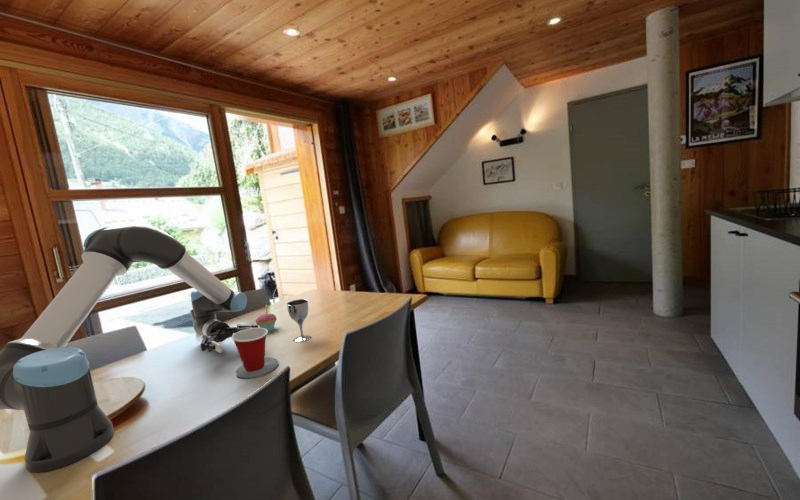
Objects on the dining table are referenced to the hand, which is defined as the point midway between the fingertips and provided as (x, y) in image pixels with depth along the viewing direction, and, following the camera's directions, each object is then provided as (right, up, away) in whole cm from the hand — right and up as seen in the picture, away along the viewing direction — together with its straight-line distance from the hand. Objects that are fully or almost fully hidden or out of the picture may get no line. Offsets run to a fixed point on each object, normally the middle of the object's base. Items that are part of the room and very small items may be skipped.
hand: (240, 341), depth 120 cm
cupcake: (-3, -3, +31) cm, 32 cm away
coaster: (+8, -7, -6) cm, 13 cm away
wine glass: (+17, -4, +17) cm, 24 cm away
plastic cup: (+8, -7, -7) cm, 13 cm away
